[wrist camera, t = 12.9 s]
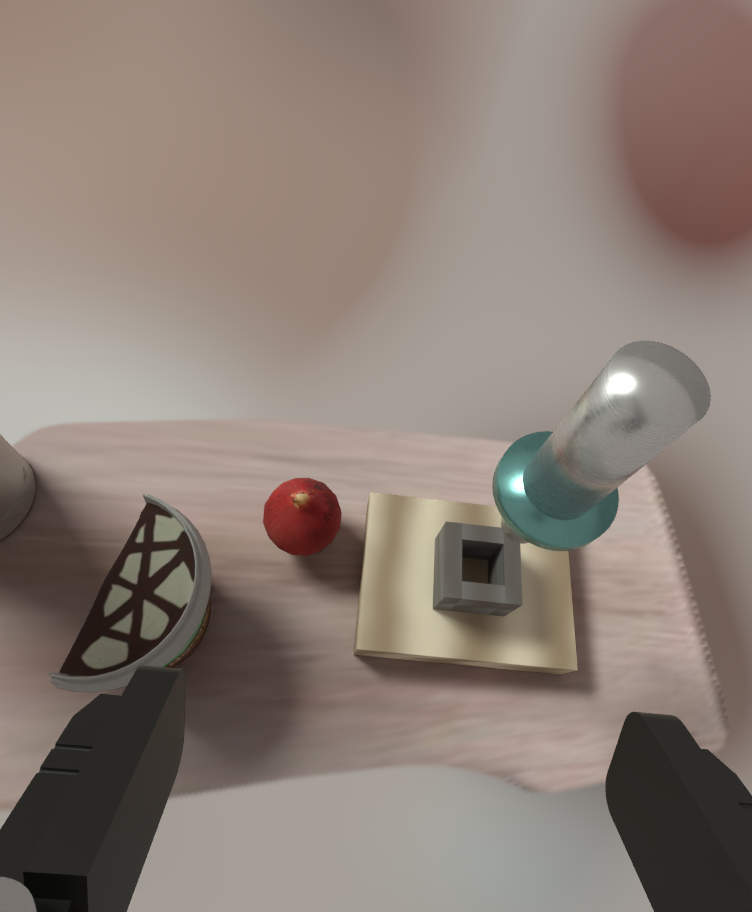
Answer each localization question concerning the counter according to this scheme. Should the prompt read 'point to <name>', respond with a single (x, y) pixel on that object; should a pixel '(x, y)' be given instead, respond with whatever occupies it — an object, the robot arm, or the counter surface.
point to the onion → (302, 516)
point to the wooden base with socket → (460, 590)
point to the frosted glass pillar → (598, 447)
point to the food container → (144, 605)
